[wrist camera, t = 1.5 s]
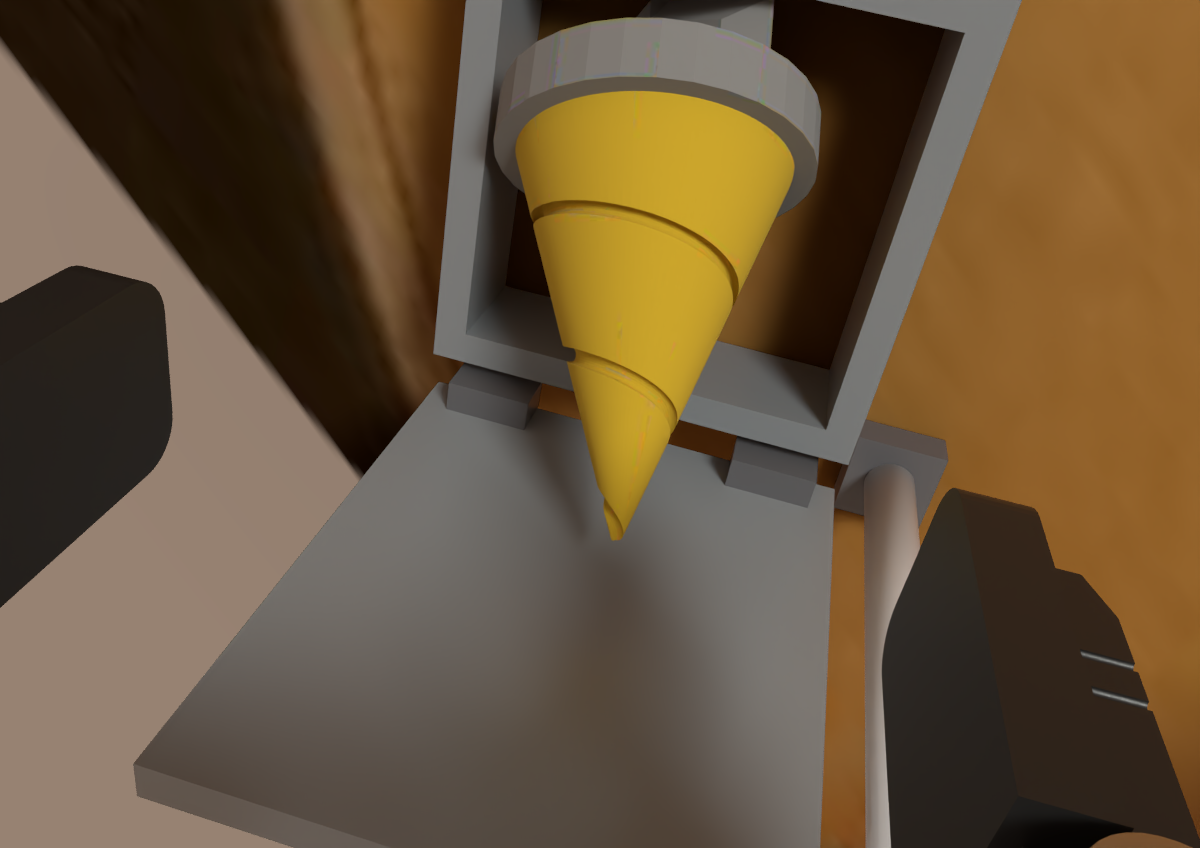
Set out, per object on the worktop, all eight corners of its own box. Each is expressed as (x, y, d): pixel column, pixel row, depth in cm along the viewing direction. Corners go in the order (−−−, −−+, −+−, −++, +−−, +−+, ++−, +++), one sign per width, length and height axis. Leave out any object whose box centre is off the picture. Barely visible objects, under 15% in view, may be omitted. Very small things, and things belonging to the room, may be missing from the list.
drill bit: (892, -14, 17) (867, 566, 15) (667, 92, 21) (620, 563, 19) (682, -213, 14) (608, 504, 11) (460, -42, 17) (372, 515, 15)
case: (1131, 6, 16) (1603, 276, 6) (916, 508, 21) (964, 1100, 11) (524, -123, 17) (26, -88, 7) (465, 387, 22) (141, 826, 12)
